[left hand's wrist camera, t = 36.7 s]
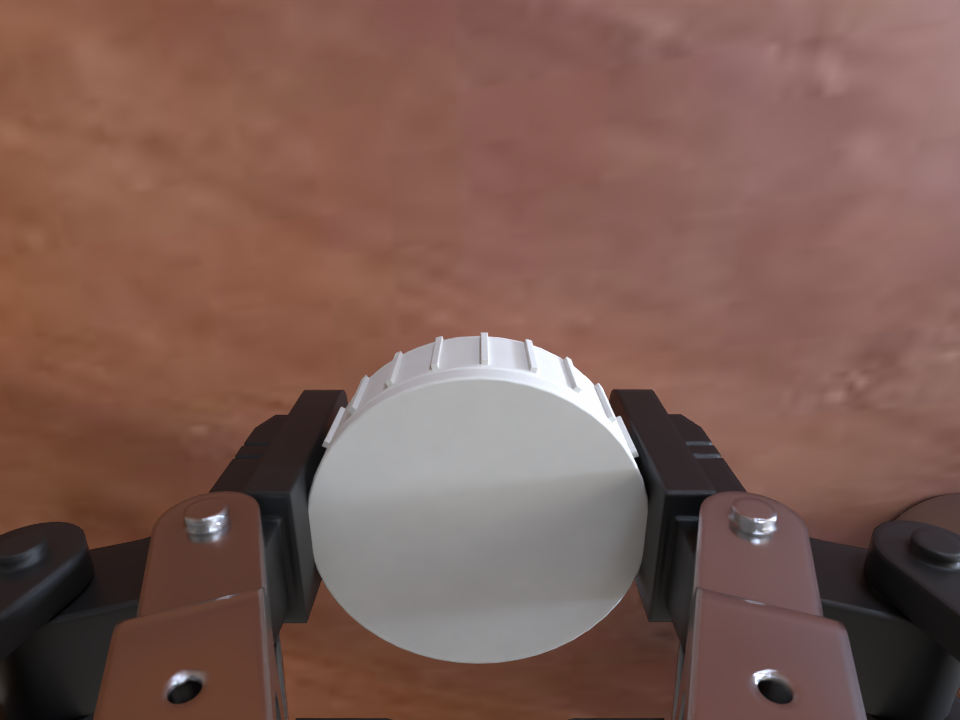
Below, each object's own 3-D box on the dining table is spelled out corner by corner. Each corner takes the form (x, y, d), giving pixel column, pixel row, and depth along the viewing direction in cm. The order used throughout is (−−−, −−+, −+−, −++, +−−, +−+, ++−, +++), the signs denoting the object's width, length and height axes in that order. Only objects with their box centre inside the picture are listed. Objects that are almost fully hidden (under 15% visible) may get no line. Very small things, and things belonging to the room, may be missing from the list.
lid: (685, 498, 11) (721, 563, 9) (452, 635, 12) (448, 715, 11) (512, 265, 9) (518, 296, 8) (264, 448, 11) (225, 507, 9)
